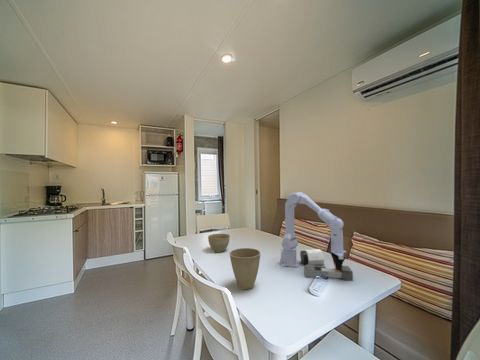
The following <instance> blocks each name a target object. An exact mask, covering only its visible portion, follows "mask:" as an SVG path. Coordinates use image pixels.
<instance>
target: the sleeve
mask: <svg viewBox="0 0 480 360" xmlns="http://www.w3.org/2000/svg"><path fill="white" fill-rule="evenodd" d="M321 268H326V266H323V265H321V266H320V265H308V264H306V265H303V272H304V277H305V278H307V279H308V278H309V279H316V278H315V277H316V276H320V275H322V274H323V275H328V271H321Z"/></svg>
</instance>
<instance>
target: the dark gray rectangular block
mask: <svg viewBox="0 0 480 360" xmlns="http://www.w3.org/2000/svg"><path fill="white" fill-rule="evenodd" d="M341 271H342V278H341V279H342V281H348V282H349V281H352V282H353V281H354V276H353V275H354V274H353V273H354V272H353V270H352V269H351V267H350V266H348V265H342V268H341Z"/></svg>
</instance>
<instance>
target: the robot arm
mask: <svg viewBox="0 0 480 360" xmlns="http://www.w3.org/2000/svg"><path fill="white" fill-rule="evenodd" d="M300 204H301V205H306V206H307V207H309V208H310V209H312V211H314V212H315V213H317V217H318V218H319V219H320V220H322V221H323V222H324V223H325V224H326V225H328V228H329V229H330V247H331V249H330V256H331V258H332V261H333V265H334V267H335V266H336V270H341V268H342V266H343V263H344V261H345V259H346V257H345V256H344V254H346V253H347V251H346V250H345V249H344V233H343V232H344V231H343V230H344V229H343V227H344V226H345V224H344V221H343V220H342V218H340V217H338V216H336V215H334V214H332V213H331V212H330V209H327V208H322V207H321V206H319V205H318V204H317V203H316V202H315V201H313V199H311V198H310V197H309V196H308V194H305V193H304V192H302V191H297V192H291V193H290V194H288V196H287V200H286V202H285V203H284V215H285V216H284V221H285V223H284V224H285V229H284V231H285V233H284V235H283V237H282V242H281V247H282V248H281V249H280V266H281V267H291V268H292V267H293V268H299V267H298V261H297V260H298V259H297V246H298V245H299V241H298V238H297V235H296V233H295V231H296V230H295V228H296V227H295V207H297V206H298V205H300Z"/></svg>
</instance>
